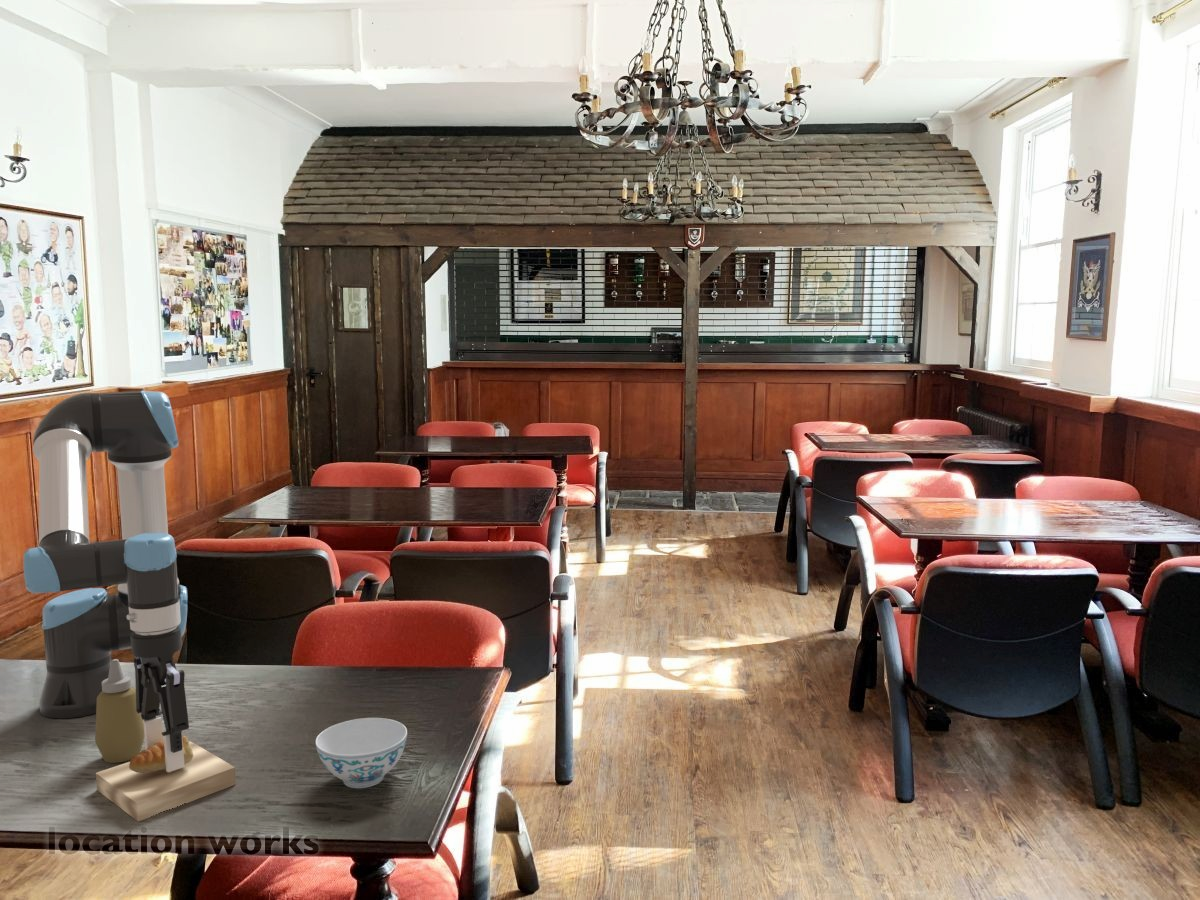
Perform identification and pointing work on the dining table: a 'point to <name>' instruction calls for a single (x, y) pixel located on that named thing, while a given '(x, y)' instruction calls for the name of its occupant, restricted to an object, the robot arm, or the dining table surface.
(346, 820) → the dining table surface
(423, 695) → the dining table surface
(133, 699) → the squeeze bottle
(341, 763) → the chinaware
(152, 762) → the pastry
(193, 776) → the serving board
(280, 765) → the dining table surface
